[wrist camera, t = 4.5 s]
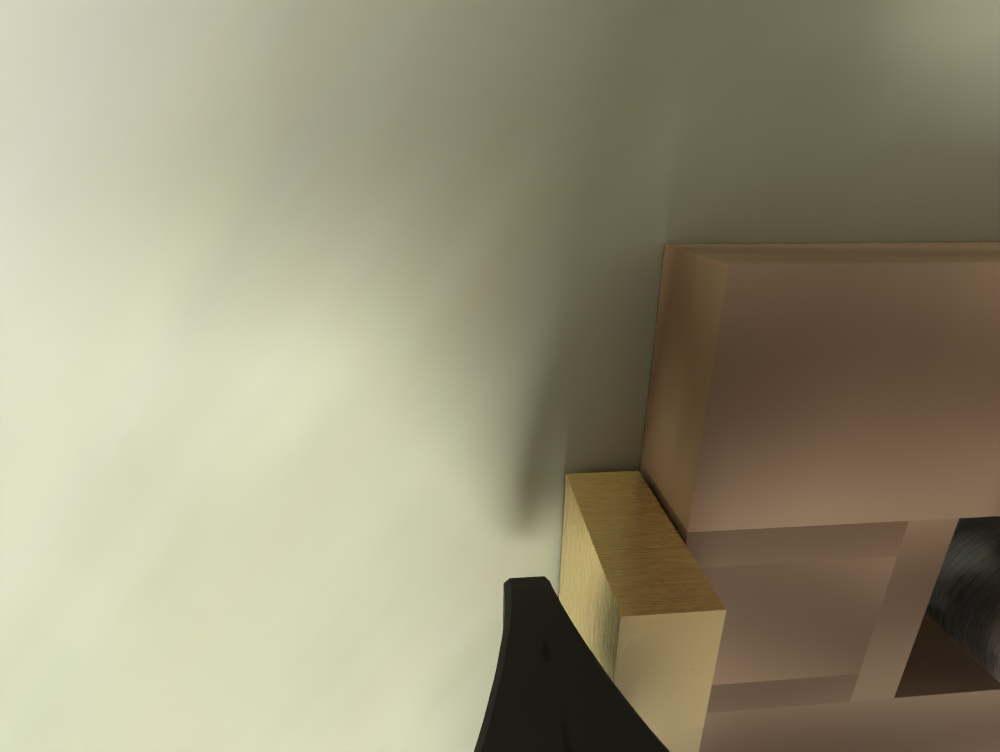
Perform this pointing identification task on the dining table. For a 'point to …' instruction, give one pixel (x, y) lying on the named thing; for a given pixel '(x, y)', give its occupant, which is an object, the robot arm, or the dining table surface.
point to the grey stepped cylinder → (971, 591)
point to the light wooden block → (640, 602)
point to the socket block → (830, 481)
